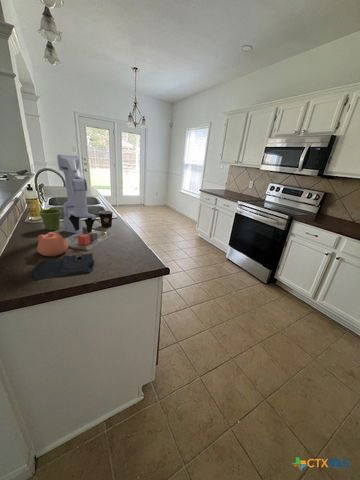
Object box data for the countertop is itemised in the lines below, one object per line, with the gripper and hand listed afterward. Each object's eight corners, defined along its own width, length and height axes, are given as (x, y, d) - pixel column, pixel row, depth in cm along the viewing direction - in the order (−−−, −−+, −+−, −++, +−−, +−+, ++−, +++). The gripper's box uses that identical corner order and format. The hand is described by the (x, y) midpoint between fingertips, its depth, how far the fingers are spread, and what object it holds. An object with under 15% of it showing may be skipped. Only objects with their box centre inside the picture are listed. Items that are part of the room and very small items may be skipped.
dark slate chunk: (38, 263, 86) (36, 253, 85) (93, 257, 95) (92, 248, 94) (30, 282, 73) (27, 271, 72) (95, 273, 82) (94, 263, 81)
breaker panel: (57, 244, 104) (56, 241, 103) (87, 231, 126) (87, 228, 125) (87, 250, 101) (87, 246, 100) (113, 235, 123) (113, 232, 122)
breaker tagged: (88, 239, 109) (87, 233, 108) (92, 237, 113) (92, 231, 112) (93, 240, 109) (92, 234, 107) (97, 238, 112) (97, 232, 111)
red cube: (78, 244, 103) (77, 236, 102) (83, 241, 107) (83, 233, 105) (85, 245, 102) (84, 237, 101) (90, 242, 106) (89, 234, 104)
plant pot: (36, 229, 122) (33, 211, 118) (53, 225, 132) (50, 208, 128) (52, 233, 119) (49, 214, 115) (67, 227, 130) (65, 210, 126)
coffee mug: (115, 225, 142) (114, 211, 138) (110, 228, 134) (109, 214, 130) (99, 223, 143) (98, 209, 139) (93, 227, 135) (92, 212, 131)
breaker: (82, 233, 118) (82, 227, 116) (87, 231, 121) (86, 225, 120) (87, 234, 117) (86, 228, 116) (91, 232, 121) (91, 226, 119)
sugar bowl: (55, 260, 89) (52, 239, 86) (28, 255, 91) (24, 234, 88) (74, 249, 100) (71, 230, 97) (50, 245, 103) (46, 226, 99)
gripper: (61, 204, 95) (65, 231, 100) (88, 208, 92) (90, 235, 97) (72, 201, 102) (75, 227, 106) (97, 205, 99) (99, 231, 104)
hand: (83, 231), depth 102 cm, fingers open, 7 cm apart
